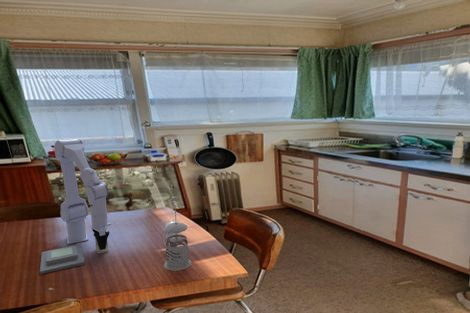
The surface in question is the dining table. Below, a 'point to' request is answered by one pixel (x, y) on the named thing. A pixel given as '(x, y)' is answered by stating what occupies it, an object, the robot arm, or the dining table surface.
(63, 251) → the stepped stand
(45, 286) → the dining table surface
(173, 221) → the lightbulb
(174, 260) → the french press
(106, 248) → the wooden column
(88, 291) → the dining table surface
